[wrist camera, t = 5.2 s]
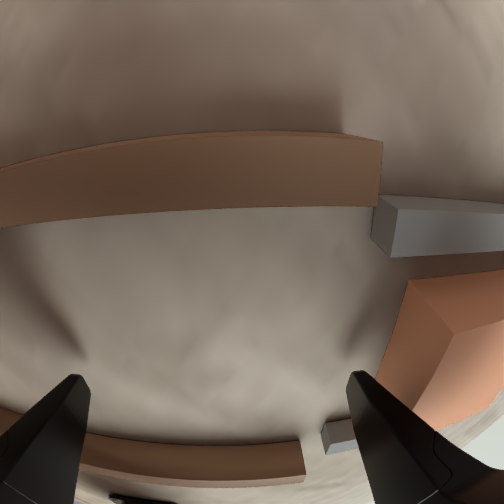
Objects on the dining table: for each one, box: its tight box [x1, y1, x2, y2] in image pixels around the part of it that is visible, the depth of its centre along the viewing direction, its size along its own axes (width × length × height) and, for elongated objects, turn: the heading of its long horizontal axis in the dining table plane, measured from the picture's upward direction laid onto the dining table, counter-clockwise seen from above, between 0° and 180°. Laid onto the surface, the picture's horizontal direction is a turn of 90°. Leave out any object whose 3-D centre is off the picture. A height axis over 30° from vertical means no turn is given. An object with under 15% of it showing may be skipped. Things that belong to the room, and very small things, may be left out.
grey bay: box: [321, 195, 504, 455], centre depth 9 cm, size 11×10×1 cm
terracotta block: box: [375, 269, 504, 431], centre depth 9 cm, size 6×6×3 cm
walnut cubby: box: [0, 131, 383, 488], centre depth 8 cm, size 14×21×2 cm
